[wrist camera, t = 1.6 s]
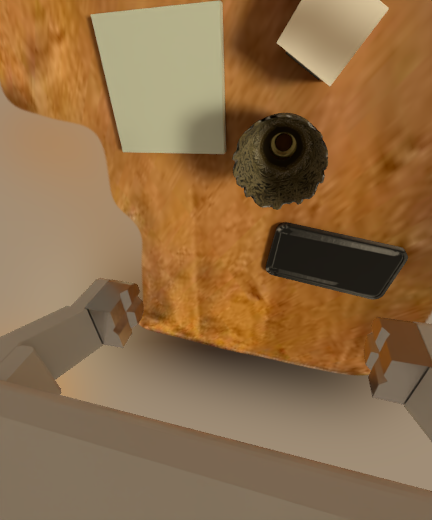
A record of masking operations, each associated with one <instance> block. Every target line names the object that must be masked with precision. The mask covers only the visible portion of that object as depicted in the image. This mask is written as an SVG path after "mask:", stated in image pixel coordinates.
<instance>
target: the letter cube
mask: <svg viewBox="0 0 432 520" xmlns="http://www.w3.org/2000/svg"><path fill="white" fill-rule="evenodd" d="M388 9H389V8H388V7H387V6H386V5H384V4H383V3H382V2H381V1H380V0H301V2H300V3H299V5H298V7H297V9H296V10H295V12H294V14H293V15H292V17H291V19H290V21H289V22H288V24H287V26H286V27H285V29H284V31H283V33H282V34H281V36H280V38H279V39H278V41H277V44H278V45H280V46H281V47H282V48H283V49H285V50H286V51H287V52H286V54H287V55H288V56H290V57H291V58H292V59H293V60H294V61H296V62H297V63H298V64H299V65H301V66H302V67H303V68H304V69H306V70H307V71H308V72H309V73H310V74H312V75H313V76H314V77H315V78H317V79H318V80H319V79H321V80H323V81H324V82H325V83H326V84H328V85H329V86H331V84H332V83H333V82H334V81H335V79H336V78H337V77H338V75H339V74H340V73H341V71H342V70H343V69H344V67H345V66H346V65H347V63H348V62H349V61H350V59H351V58H352V57H353V55H354V54H355V53H356V51H357V50H358V49H359V48H360V46H361V45H362V44H363V42H364V41H365V40H366V38H367V37H368V36H369V34H370V33H371V32H372V30H373V29H374V28H375V26H376V25H377V24H378V22H379V21H380V20H381V19H382V17H383V16H384V15H385V13H386V12H387V11H388Z"/></svg>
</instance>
